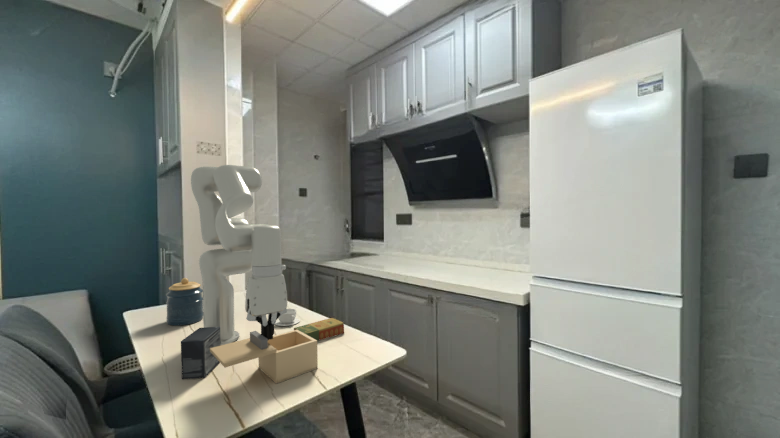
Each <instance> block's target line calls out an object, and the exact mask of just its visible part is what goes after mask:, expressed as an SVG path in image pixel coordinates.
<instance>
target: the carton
mask: <svg viewBox="0 0 780 438" xmlns="http://www.w3.org/2000/svg"><path fill="white" fill-rule="evenodd" d="M294 330H299V331H301V332H303V333H304V334H306V335H308V336H310V337H312V338H314V339H315V340H317V342H319V341H321V340H325V339H329V338H332V337H336V336H338V335H341V334H345V324H344V322H343V321H341V320H339V319H336V318H334V317H329V318H326V319H322V320H318V321H315V322H310V323H308V324H303V325H301V326H296V327H294V328H293V331H294Z"/></svg>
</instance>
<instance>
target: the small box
mask: <svg viewBox="0 0 780 438" xmlns="http://www.w3.org/2000/svg"><path fill="white" fill-rule="evenodd" d="M217 346H221V339H220V327H205V328H204V327H198V328H197V329H196V330H195V331H193V332H191V333H190V334H189V335H187V336H186V337H184V338H183V339H182V340H180V355H181V356H180V357H181V360H180V361H181V363H180V364H181V379H182V380H188V379H189V380H192V379H193V380H195V379H196V380H197V379H205V378H207V376H209V375H210V374H211V372H212V371H214V369H215V368H216V367H217V366H218V365H219V364H221V363H220V362H219V361H218V360H217V359H216V357H215V356H214V355H213V354H212V353H211V352H210V348H213V347H217Z"/></svg>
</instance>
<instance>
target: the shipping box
mask: <svg viewBox="0 0 780 438" xmlns="http://www.w3.org/2000/svg"><path fill="white" fill-rule="evenodd" d="M268 343H269V344H270V345H272V346H273V347H274V348H276V349H277V352H275V353H272V354H269V355H265V356H262V357H259V358H257V360H258V369H259V370H260V371H261V372H263V373H264V374H265V375H266V376H267V377H268V378H270V380H272V381H273V383H275V384H279V383H280V384H281V383H282V382H284V381H288V380H291V379H293V378H296V377H298V376H301V375H304V374H306V373H310V372H313V371H314V370H318V368H319V367H318V341H317V340H315V339H314V338H312V337H310V336H308V335H306V334H304V333H303V332H301V331H299V330H294V329H293V330H291V331H287V332H283V333H279V334H276V335H275V334H274V335H273V339H269V340H268Z"/></svg>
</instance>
